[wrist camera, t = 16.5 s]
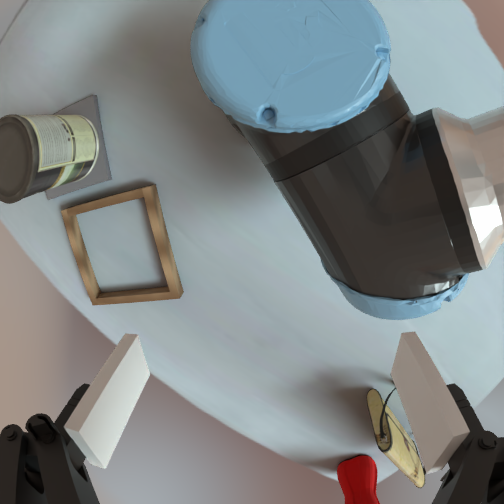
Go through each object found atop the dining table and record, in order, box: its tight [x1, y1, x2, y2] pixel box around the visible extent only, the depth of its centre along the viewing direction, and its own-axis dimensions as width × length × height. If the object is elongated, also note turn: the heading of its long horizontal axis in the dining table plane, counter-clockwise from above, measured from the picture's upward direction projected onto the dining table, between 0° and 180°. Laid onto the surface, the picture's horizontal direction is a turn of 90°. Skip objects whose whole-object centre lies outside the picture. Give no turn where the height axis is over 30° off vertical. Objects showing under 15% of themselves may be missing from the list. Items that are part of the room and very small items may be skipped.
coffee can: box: [0, 115, 99, 204], centre depth 31 cm, size 10×10×14 cm
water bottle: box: [337, 455, 380, 504], centre depth 48 cm, size 9×11×25 cm
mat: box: [46, 95, 112, 200], centre depth 38 cm, size 13×13×1 cm
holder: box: [61, 184, 184, 305], centre depth 43 cm, size 16×16×2 cm
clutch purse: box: [367, 388, 426, 488], centre depth 45 cm, size 30×7×15 cm, turn 37°
